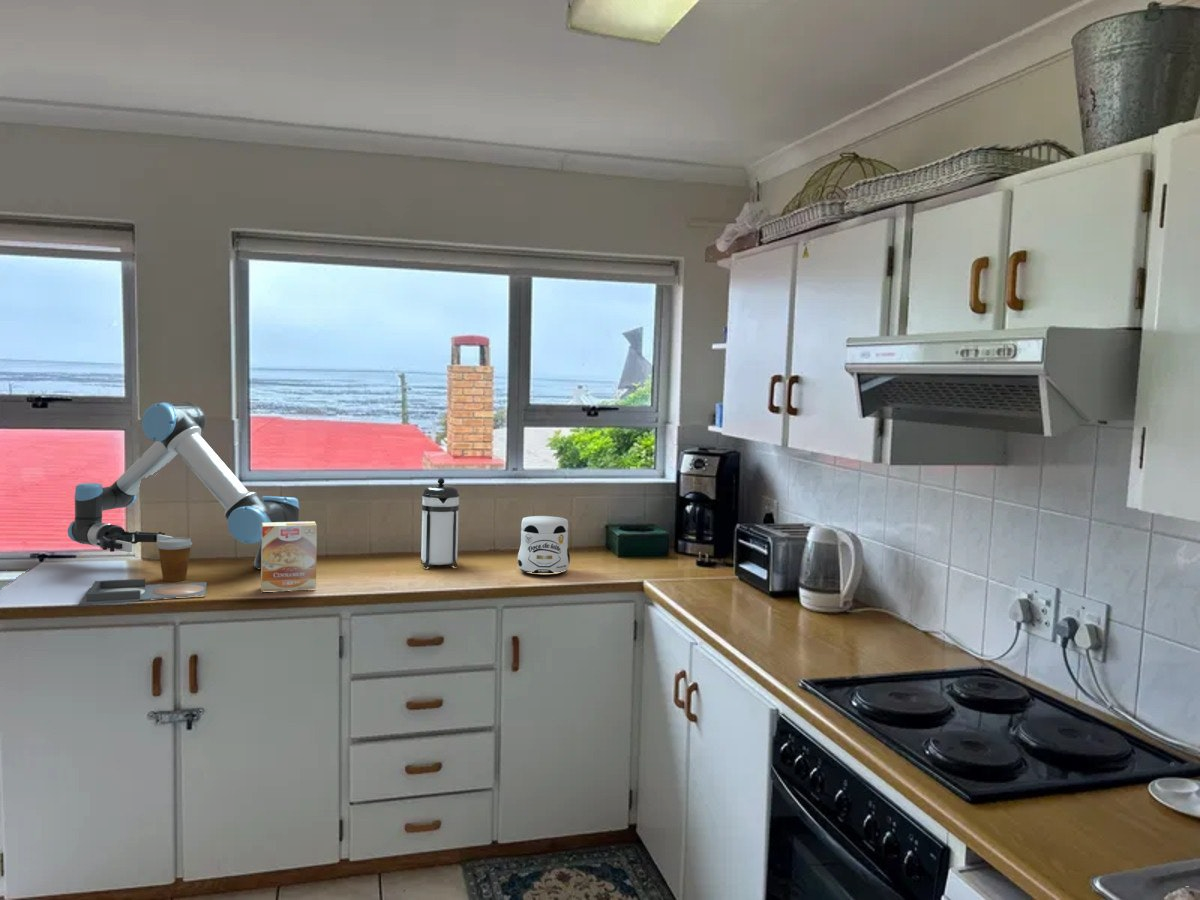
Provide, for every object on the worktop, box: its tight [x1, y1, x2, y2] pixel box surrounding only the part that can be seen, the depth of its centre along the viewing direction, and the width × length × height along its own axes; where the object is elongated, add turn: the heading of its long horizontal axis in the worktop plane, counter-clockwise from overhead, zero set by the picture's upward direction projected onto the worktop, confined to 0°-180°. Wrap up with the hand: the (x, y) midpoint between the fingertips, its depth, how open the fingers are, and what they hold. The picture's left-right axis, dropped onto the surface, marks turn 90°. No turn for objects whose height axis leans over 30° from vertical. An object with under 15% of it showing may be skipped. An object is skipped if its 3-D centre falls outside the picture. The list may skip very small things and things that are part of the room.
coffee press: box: [420, 477, 461, 568], centre depth 288 cm, size 17×16×30 cm
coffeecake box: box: [260, 521, 318, 592], centre depth 248 cm, size 15×7×20 cm, turn 114°
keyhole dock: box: [79, 578, 208, 606], centre depth 237 cm, size 30×17×3 cm, turn 113°
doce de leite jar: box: [517, 515, 571, 573], centre depth 282 cm, size 17×17×18 cm
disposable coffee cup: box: [156, 537, 193, 583], centre depth 255 cm, size 10×10×12 cm
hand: (151, 544), depth 259 cm, fingers open, 13 cm apart
